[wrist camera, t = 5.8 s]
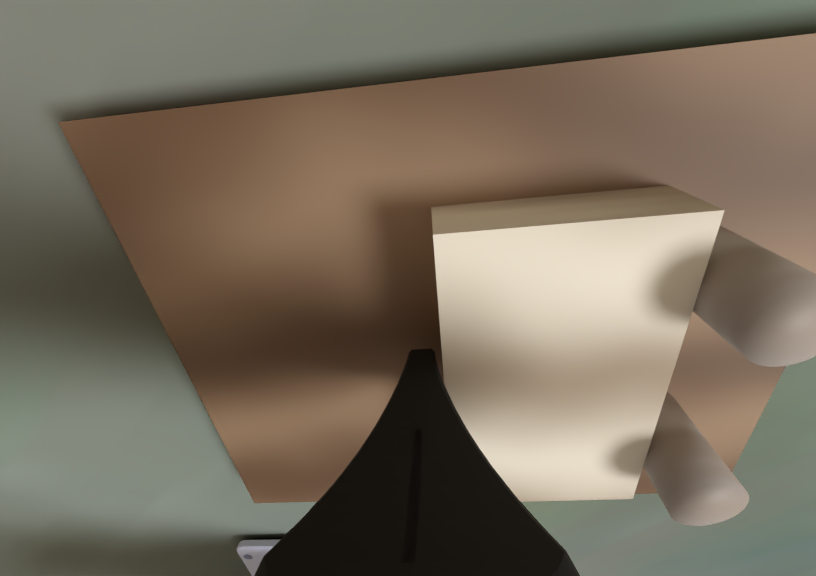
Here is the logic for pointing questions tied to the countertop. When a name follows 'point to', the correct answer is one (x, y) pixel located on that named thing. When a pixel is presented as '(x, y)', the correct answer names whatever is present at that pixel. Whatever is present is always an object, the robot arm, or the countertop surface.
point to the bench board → (414, 249)
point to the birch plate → (568, 329)
